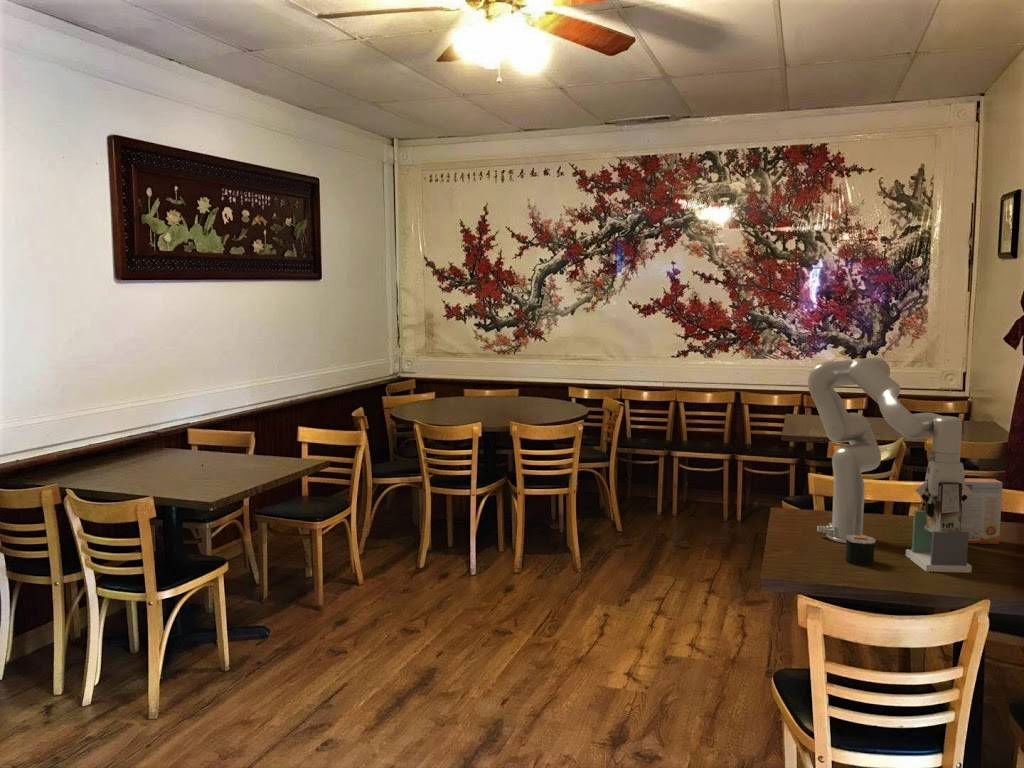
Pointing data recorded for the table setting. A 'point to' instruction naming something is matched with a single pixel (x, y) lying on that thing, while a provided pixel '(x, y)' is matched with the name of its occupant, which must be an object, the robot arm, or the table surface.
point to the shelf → (938, 548)
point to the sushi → (860, 550)
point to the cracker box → (982, 511)
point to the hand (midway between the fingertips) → (942, 515)
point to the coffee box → (946, 509)
